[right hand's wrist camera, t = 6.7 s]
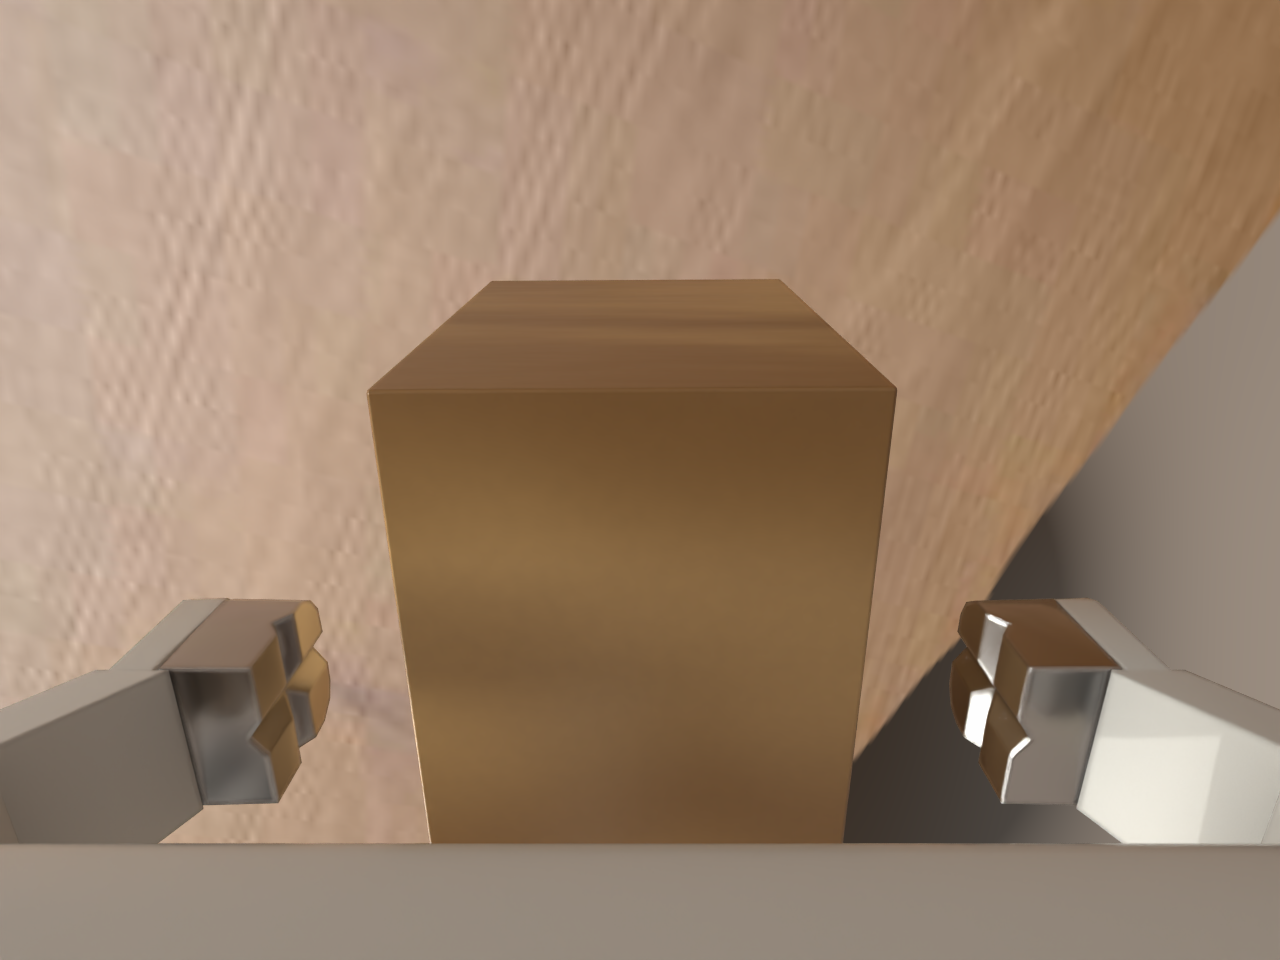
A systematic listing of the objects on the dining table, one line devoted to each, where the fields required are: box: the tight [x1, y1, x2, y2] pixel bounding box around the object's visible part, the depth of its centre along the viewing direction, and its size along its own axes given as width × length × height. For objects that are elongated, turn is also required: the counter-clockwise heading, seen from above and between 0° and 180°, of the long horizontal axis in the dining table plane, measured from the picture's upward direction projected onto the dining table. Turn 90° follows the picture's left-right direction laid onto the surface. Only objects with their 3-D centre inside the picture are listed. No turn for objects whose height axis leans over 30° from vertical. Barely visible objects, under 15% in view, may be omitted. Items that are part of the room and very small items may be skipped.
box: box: [367, 279, 897, 844], centre depth 18 cm, size 26×6×8 cm, turn 0°
